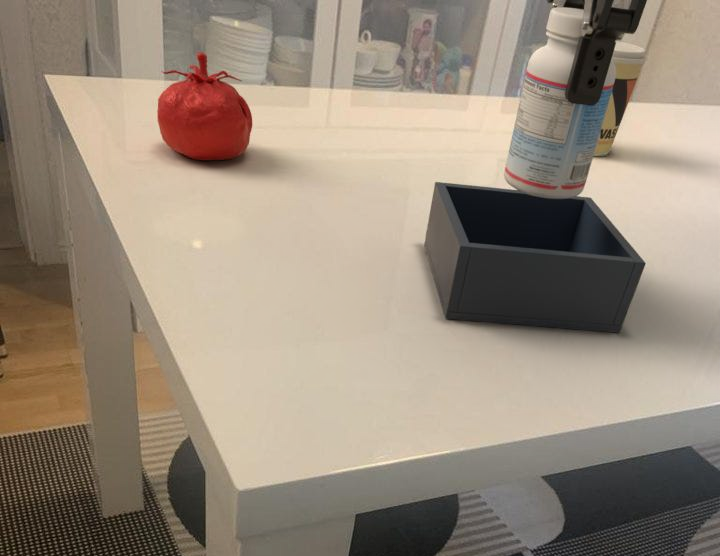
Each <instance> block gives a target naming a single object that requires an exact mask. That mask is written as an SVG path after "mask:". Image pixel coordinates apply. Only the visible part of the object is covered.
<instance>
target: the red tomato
mask: <svg viewBox="0 0 720 556" xmlns="http://www.w3.org/2000/svg"><path fill="white" fill-rule="evenodd" d="M196 60H197V61H198V66H197V65H194V64H193V65H191V64H189V65H188V67H189V68H190V69H191V70H193V71H194V72H189V73H186V72H183V71H182V72H181V71H178V70H176V69H172V70H168V71H163V70H161V73H163V74H164V75H169V74H178V75H181V76H184V77H186V79H185V80H180V81H177V82H172V83H171V84H170V85H169V86H167V87H166V89H165V90H163V91H162V92H161V94H160V95H159V97H158V99H157V118H156V119H157V123H158V127H159V132H160V135H161V139H162V140H163V142H164V143H165V144H166V145H167V147H169V148H170V149H171V150H173V151H174V152H176V153H179V154H180V155H181V154H182V155H183V156H186V157H188V158H190V159H194V160H199V161H222V160H223V161H224V160H229V159H235V158H237V157H238V156H239V155H242V154H243V153H244V152H245V151H246V150H247V148H248V147H249V145H250V139H251V132H252V129H253V115H252V111H251V109H250V106H249V104H248V103H247V101H246V99H245V98H244V97H243V95H240V93H239V91H238V90H237V89H236V88H235V87H234V86H233V85H231V84H229V83H228V82H225V81H223V80H222V79H225V78H229V79H233V80H236V81H239V82H242V81H243V80H242V79H239V78H237V77H235V76H232V74H228V72H226V71H225V70H221V71H219V72H216V73H212V74H210V75H208V56H207V54H206V53H204V52H203V51H200V52H197V53H196ZM222 75H223V76H222Z"/></svg>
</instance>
